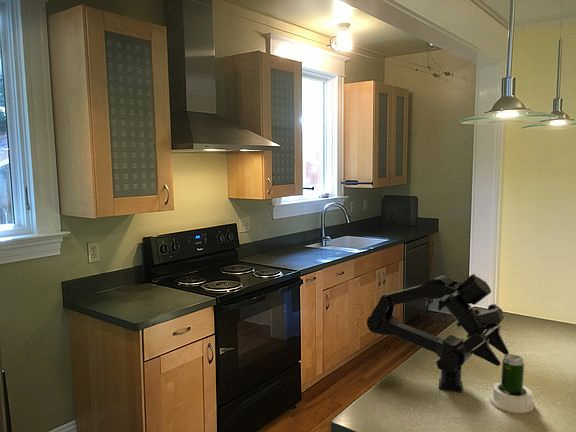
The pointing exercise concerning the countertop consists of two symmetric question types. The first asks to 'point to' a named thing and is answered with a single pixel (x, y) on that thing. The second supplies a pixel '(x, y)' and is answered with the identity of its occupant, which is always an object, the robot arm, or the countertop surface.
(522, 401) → the can holder
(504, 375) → the beer can
